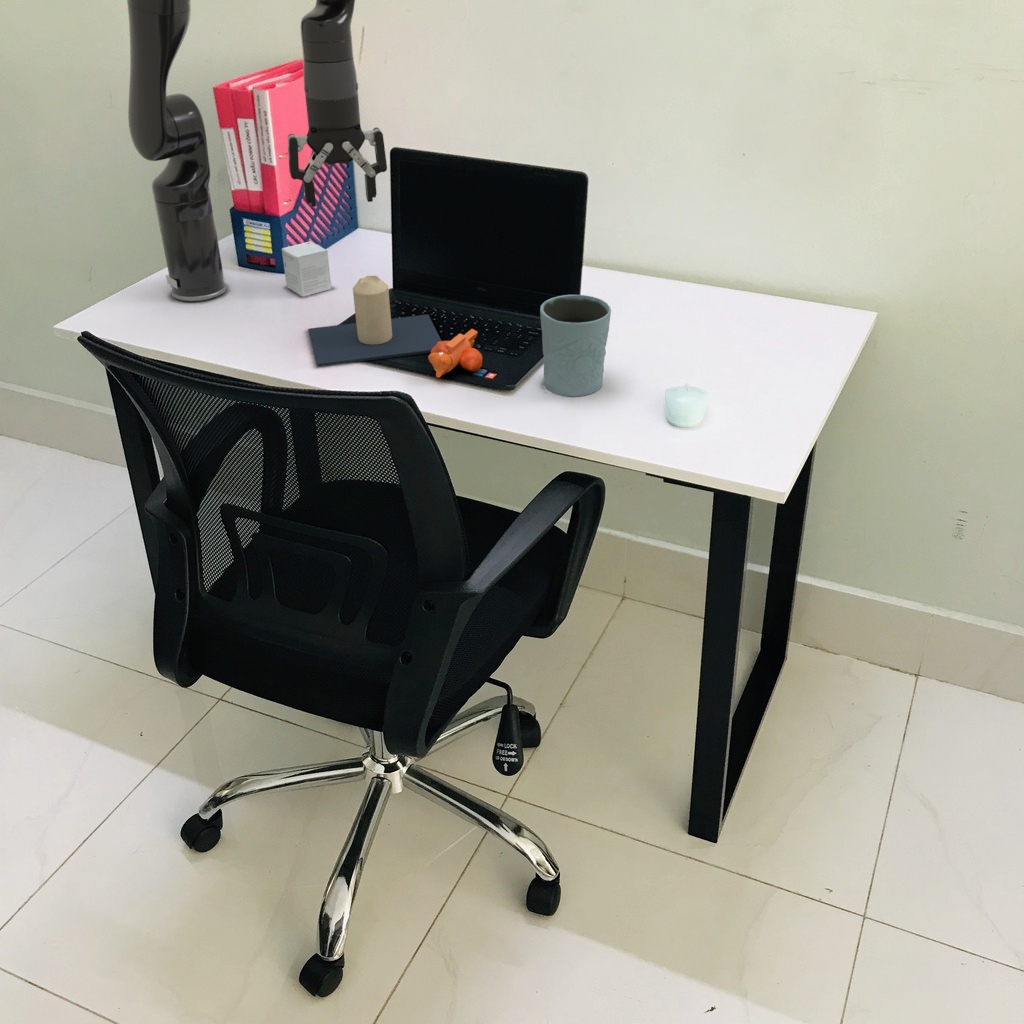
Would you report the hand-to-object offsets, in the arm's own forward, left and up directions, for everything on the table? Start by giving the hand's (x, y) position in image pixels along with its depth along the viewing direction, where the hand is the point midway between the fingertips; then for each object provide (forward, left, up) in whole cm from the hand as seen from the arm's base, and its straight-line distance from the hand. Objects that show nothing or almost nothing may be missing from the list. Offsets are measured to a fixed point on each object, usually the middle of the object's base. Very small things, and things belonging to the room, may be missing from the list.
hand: (341, 202), depth 169 cm
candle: (+3, +3, -22) cm, 22 cm away
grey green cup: (+27, +29, -22) cm, 45 cm away
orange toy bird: (+17, +14, -22) cm, 31 cm away
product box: (-23, -5, -22) cm, 33 cm away
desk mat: (+3, +3, -22) cm, 22 cm away
